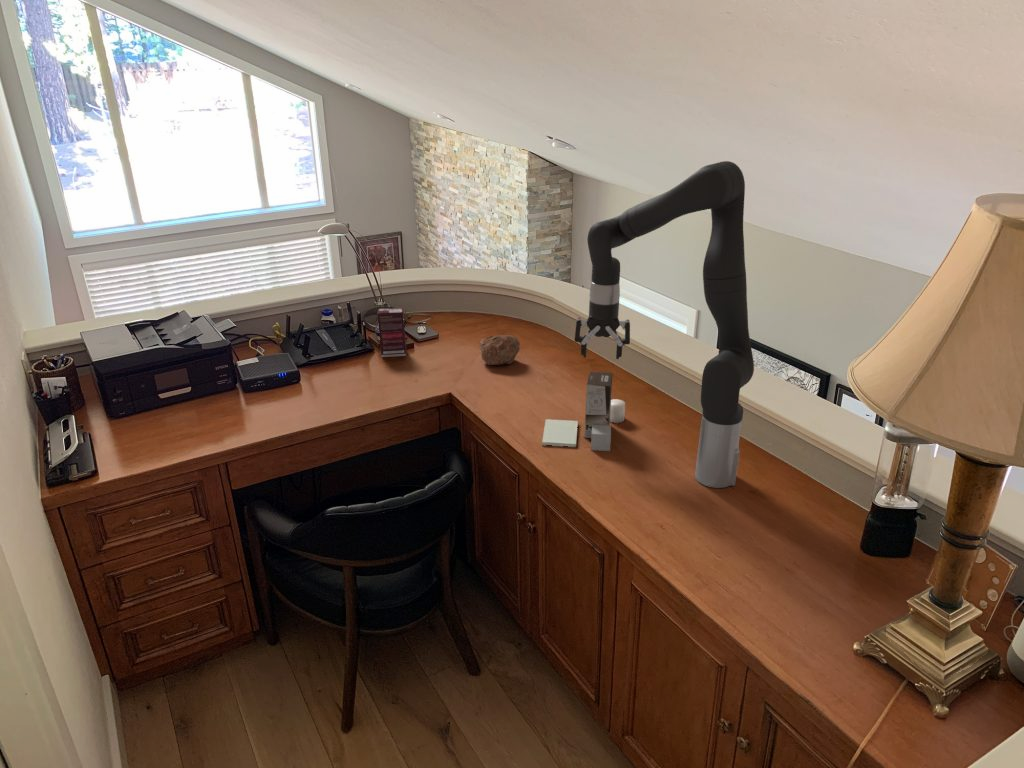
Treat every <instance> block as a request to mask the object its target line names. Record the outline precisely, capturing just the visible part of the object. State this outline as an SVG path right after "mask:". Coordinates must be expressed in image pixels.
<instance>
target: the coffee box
mask: <svg viewBox="0 0 1024 768" xmlns="http://www.w3.org/2000/svg"><path fill="white" fill-rule="evenodd" d="M586 382H587V383H586V399H585V414H584V415H585V416H584V436H583V438H586V439H591V436H592V425H607V426H611V425H610V424H611V422H610V409H611V400H612V388H613V372H606V371H605V372H604V371H589V374H588V378H587V381H586Z"/></svg>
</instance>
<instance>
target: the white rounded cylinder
mask: <svg viewBox="0 0 1024 768" xmlns="http://www.w3.org/2000/svg"><path fill="white" fill-rule="evenodd" d="M625 411H626V402H625V401H624V400H622V399H617V398H616V399H615V398H613V399H612V398H611V409H610V423H612V422H614V423H613V424H619V422H620V423H623V422H624V421H625V414H626V413H625ZM622 421H623V422H622Z"/></svg>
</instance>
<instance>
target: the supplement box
mask: <svg viewBox="0 0 1024 768" xmlns="http://www.w3.org/2000/svg"><path fill="white" fill-rule="evenodd" d="M376 314H377V315H376V316H377V324H378V325H377V326H378V334H379V342H380V343H379V345H380V355H381V358H390V357H392V358H394V357H406V356H407V343H406V341H407V339H406V331H405V319H404V317H405V316H404V309H403V307H396V308H394V307H393V308H378V309H377V313H376Z"/></svg>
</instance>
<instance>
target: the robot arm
mask: <svg viewBox="0 0 1024 768" xmlns="http://www.w3.org/2000/svg"><path fill="white" fill-rule="evenodd" d="M745 183H746V182H745V177H744V174H743V171H742V169H741V168H740V167H739V165H737V164H736V163H735V162H732V161H728V160H726V161H719V162H716V163H715V162H714V163H712V164H707V165H705V166H702V167H701V168H699V169H698V170H697V171H695V172H694V173H693V174H691V175H689V177H687V178H686V179H685V180H683V181H682V182H680V183H679V184H678V185H675V186H674V187H673V188H670V189H669V190H668V191H666V192H664V193H661V194H659V195H657V196H654V197H652V198H648V200H645V201H643V202H640V203H638V204H636V205H634V206H632V207H629V208H628V209H626V210H625V211H623V212H622V213H621V214H620V215H617V216H615V217H612V218H608V219H605V220H601V221H599V222H595V223H594V224H592V225H591V226H590V228H589V230H588V234H587V239H586V240H587V247H588V252H589V256H590V261H591V267H592V268H591V282H590V288H589V300H588V301H589V305H588V307H589V308H588V318H587V319H582V318H581V317H576V324H575V330H574V331H575V333H574V342H575V343H579V344H580V345H581V346H580V355H581V356H582V357H583V358H587V347H588V346H587V345H588V342H589V341H590V340H591V339H592V338H593V337H594V336H595V337H596V338H601V337H602V338H609V337H611V338H612V340H613V341H615V343H616V351H615V360H619V358H621V357H622V356H623V346H625V345H630V342H631V321H630V319H625V320H619V310H620V298H621V287H620V279H621V262H620V260H619V259H618V258H616V257H613V255H612V249H615V248H617V247H618V248H619V247H620V246H623V245H625V244H627V243H629V242H631V241H633V240H635V239H636V238H639V237H642V236H645V235H647V234H650V233H651V232H653V231H654V232H655V231H656V230H658V229H660V228H662V227H664V226H666V225H667V224H669V223H671V222H672V221H674V220H675V219H678V218H680V217H682V216H686V215H688V214H692V213H696V212H701V211H707V210H710V212H711V232H710V238H709V242H708V246H707V248H706V252H705V257H704V259H703V260H704V261H703V266H702V281H703V282H702V283H703V284H702V285H703V292H704V298H705V302H706V305H707V307H708V310H709V311H710V313H711V316H712V317H713V320H714V321H715V323H716V327H717V331H718V354H717V355H716V356H714V357H712V358H711V359H710V360H708V361H707V362H706V363H705V366H704V367H703V368H704V369H703V371H702V377H701V390H700V391H701V392H700V404H701V409H702V412H701V413H702V414H701V422H700V430H699V438H698V439H699V440H698V446H697V447H698V448H697V455H696V465H695V471H694V472H695V473H694V474H695V475H694V477H695V480H696V481H697V482H698V483H700V484H701V485H703V486H706V487H709V488H712V489H713V488H715V489H721V488H722V489H723V488H728V487H730V486H736V481H737V473H738V466H739V460H740V454H741V453H740V451H741V450H740V449H739V444H740V437H741V429H742V422H743V416H744V407H743V406H742V404H741V403H739V401H740V400H739V399H740V393H741V392H740V391H741V388H743V387H744V386H745V385H747V384H748V383H749V382H750V381H751V379H752V377H753V376H754V372H755V364H754V363H755V362H754V356H753V350H752V344H751V338H750V332H749V314H748V313H749V312H748V295H747V294H748V291H747V286H748V285H747V269H746V257H745V256H746V255H745V238H744V213H745V196H746V195H745V192H746V191H745V190H746V186H745V185H746V184H745ZM585 325H586V326H587V327H588V330H587V331H586V333H585V334H584V335H583V336H581V329H583V328H584V326H585ZM620 327H621V329H622V330H624V338H622V337H621V336H620V334H619V333H618V331H617V330H618V328H620Z"/></svg>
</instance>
